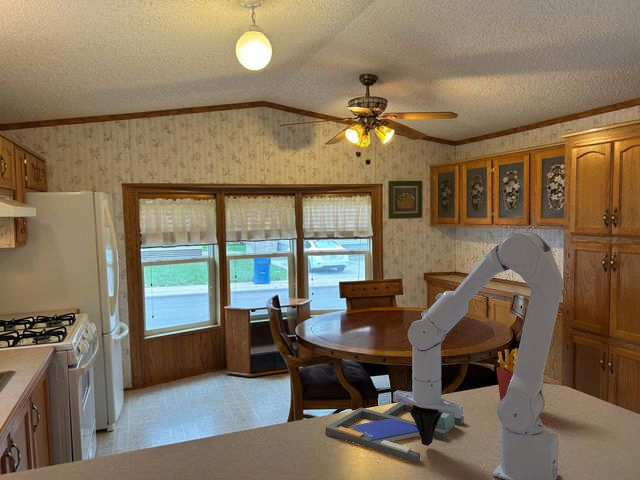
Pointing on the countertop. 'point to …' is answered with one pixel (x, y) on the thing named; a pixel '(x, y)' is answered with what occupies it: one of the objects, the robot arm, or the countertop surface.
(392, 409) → the bar
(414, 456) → the gray open frame
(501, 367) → the french fries
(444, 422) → the teal block
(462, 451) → the countertop surface
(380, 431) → the blue book
